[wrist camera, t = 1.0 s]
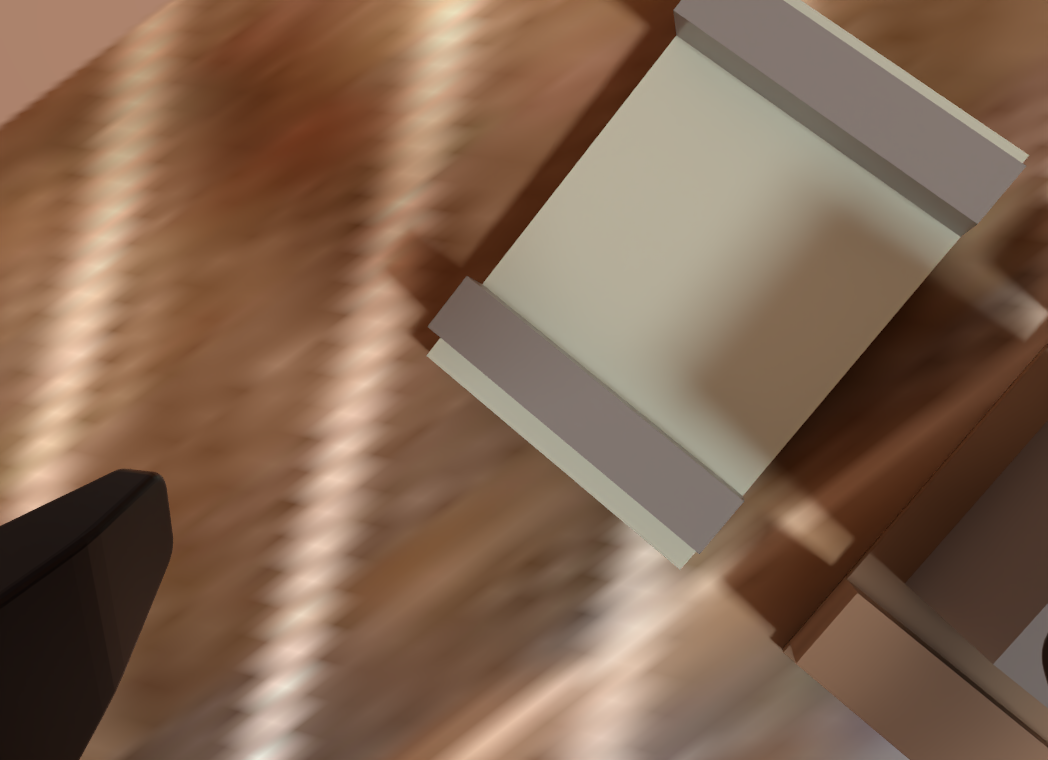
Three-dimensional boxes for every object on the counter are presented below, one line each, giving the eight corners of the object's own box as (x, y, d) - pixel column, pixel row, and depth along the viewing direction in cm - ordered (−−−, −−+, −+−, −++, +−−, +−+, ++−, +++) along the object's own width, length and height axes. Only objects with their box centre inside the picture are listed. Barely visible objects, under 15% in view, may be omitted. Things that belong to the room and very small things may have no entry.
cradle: (1017, 164, 21) (1051, 136, 19) (681, 564, 22) (677, 580, 20) (737, -27, 23) (738, -74, 20) (435, 357, 24) (408, 352, 22)
